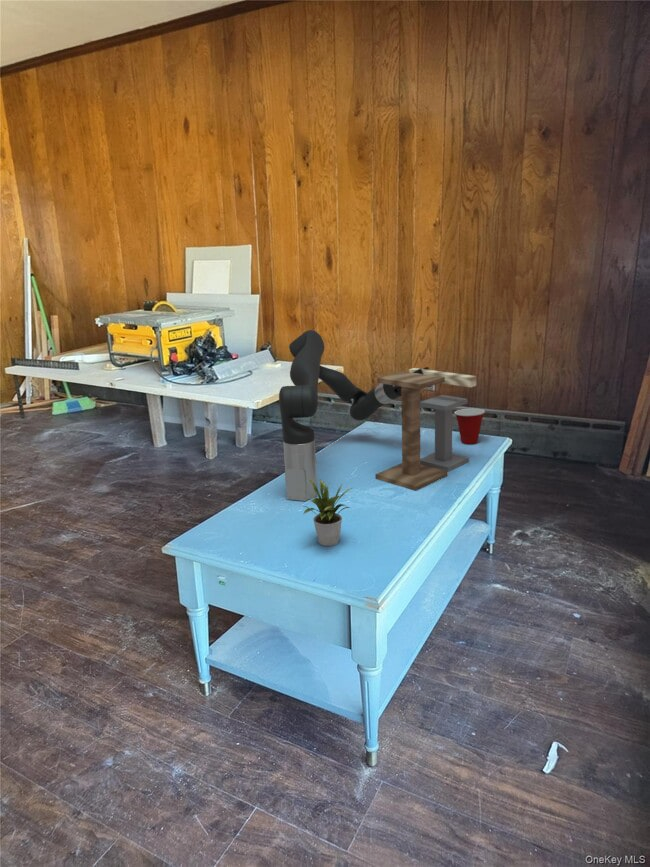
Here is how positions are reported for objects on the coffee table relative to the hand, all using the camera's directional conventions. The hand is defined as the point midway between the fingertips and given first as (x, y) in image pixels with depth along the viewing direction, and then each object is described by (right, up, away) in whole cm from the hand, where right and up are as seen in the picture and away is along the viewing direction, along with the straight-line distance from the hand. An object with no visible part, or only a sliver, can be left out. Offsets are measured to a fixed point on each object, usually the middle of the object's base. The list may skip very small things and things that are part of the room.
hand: (425, 370), depth 196 cm
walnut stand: (-6, -34, -8) cm, 36 cm away
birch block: (+5, -4, -4) cm, 7 cm away
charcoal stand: (+7, -31, +3) cm, 31 cm away
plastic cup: (+20, -24, +24) cm, 39 cm away
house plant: (-33, -48, -46) cm, 74 cm away
